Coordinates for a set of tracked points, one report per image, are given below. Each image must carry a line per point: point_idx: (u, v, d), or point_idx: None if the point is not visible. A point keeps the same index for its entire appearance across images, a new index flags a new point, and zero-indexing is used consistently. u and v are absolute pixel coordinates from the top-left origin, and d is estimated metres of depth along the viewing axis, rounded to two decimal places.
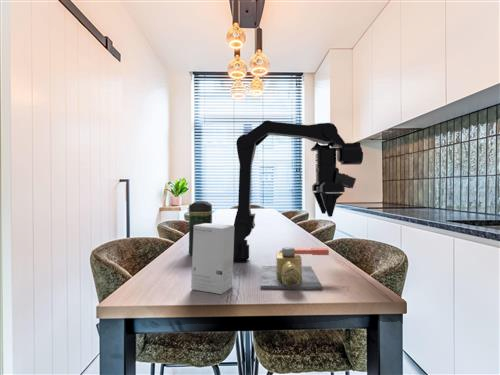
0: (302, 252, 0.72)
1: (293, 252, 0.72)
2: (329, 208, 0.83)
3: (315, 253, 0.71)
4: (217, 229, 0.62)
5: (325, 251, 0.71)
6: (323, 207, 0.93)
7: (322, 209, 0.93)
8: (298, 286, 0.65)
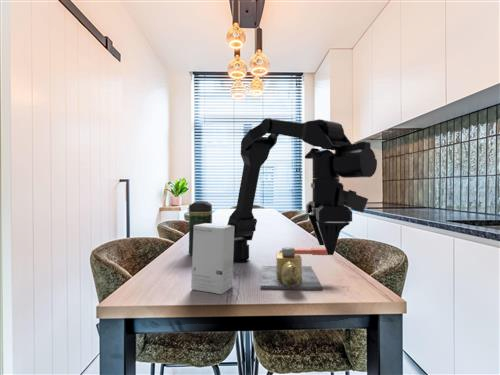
0: (302, 252, 0.72)
1: (293, 252, 0.72)
2: (329, 243, 0.56)
3: (315, 253, 0.71)
4: (217, 229, 0.62)
5: (325, 251, 0.71)
6: (322, 237, 0.66)
7: (320, 239, 0.66)
8: (298, 286, 0.65)
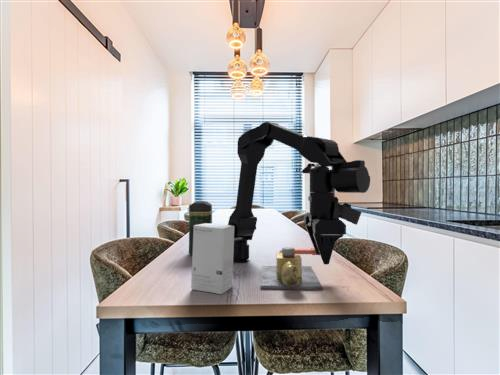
0: (302, 252, 0.72)
1: (293, 252, 0.72)
2: (325, 253, 0.61)
3: (315, 253, 0.71)
4: (217, 229, 0.62)
5: None
6: None
7: (317, 249, 0.70)
8: (298, 286, 0.65)
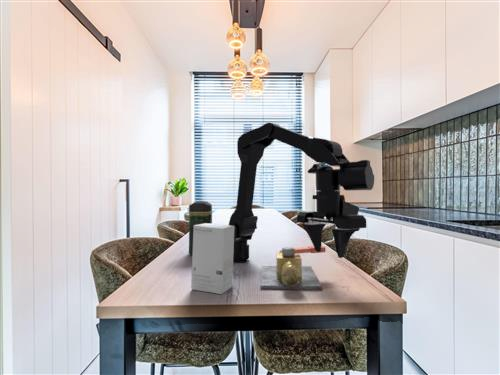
0: (302, 251, 0.73)
1: (294, 252, 0.72)
2: (342, 247, 0.65)
3: (314, 251, 0.73)
4: (217, 229, 0.62)
5: (322, 249, 0.74)
6: (318, 244, 0.73)
7: (317, 246, 0.73)
8: (298, 286, 0.65)
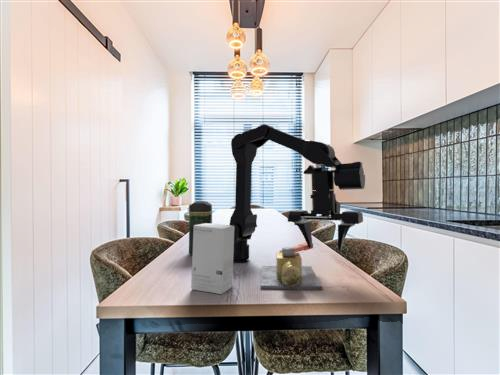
0: (299, 249, 0.75)
1: (294, 251, 0.73)
2: (342, 241, 0.72)
3: (306, 248, 0.77)
4: (217, 229, 0.62)
5: None
6: (310, 241, 0.77)
7: (310, 243, 0.76)
8: (298, 286, 0.65)
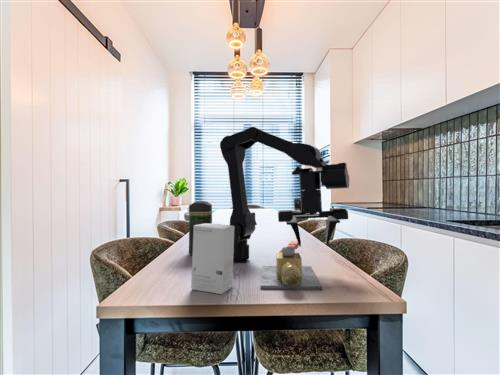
0: None
1: None
2: None
3: (297, 247, 0.79)
4: (217, 229, 0.62)
5: None
6: None
7: (300, 241, 0.79)
8: (298, 286, 0.65)
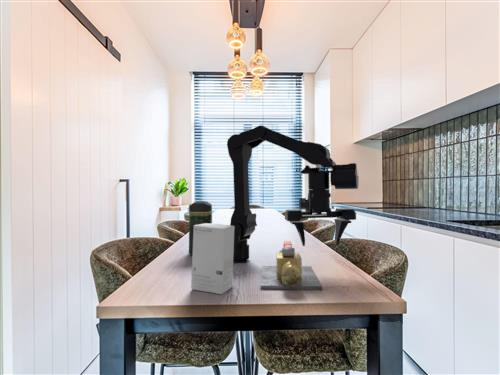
0: None
1: None
2: None
3: (291, 246, 0.79)
4: (217, 229, 0.62)
5: None
6: None
7: None
8: (298, 286, 0.65)
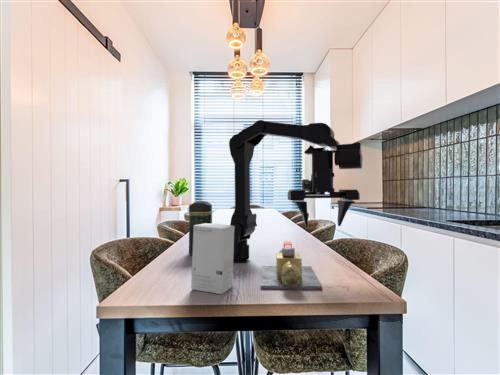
0: None
1: None
2: None
3: (291, 246, 0.79)
4: (217, 229, 0.62)
5: None
6: None
7: None
8: (298, 286, 0.65)
